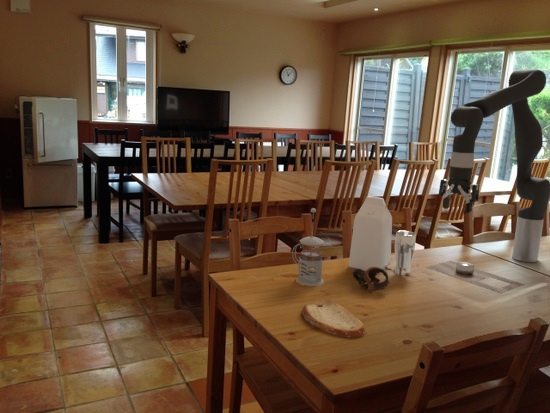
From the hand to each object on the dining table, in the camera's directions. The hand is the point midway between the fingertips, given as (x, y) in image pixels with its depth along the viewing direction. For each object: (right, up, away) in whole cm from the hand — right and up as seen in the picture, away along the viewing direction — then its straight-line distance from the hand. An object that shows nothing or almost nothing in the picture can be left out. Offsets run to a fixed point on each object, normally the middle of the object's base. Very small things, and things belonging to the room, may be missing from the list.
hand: (456, 210), depth 174 cm
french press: (-53, -24, -9) cm, 59 cm away
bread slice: (-48, -30, -39) cm, 69 cm away
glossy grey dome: (+3, -22, +2) cm, 22 cm away
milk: (-29, -21, +9) cm, 37 cm away
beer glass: (-19, -23, +2) cm, 29 cm away
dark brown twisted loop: (-33, -25, -13) cm, 44 cm away
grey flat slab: (+5, -24, -1) cm, 25 cm away
